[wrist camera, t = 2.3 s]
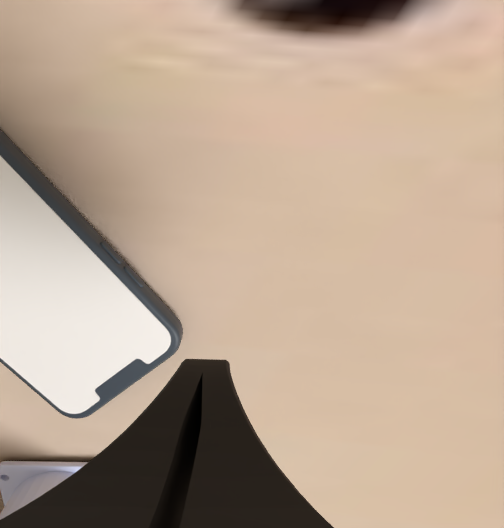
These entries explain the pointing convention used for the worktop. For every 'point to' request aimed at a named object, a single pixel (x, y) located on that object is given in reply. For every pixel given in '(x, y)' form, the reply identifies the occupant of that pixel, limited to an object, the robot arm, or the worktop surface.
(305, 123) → the worktop surface
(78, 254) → the phone case
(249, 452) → the robot arm
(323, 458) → the worktop surface
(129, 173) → the worktop surface
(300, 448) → the worktop surface
